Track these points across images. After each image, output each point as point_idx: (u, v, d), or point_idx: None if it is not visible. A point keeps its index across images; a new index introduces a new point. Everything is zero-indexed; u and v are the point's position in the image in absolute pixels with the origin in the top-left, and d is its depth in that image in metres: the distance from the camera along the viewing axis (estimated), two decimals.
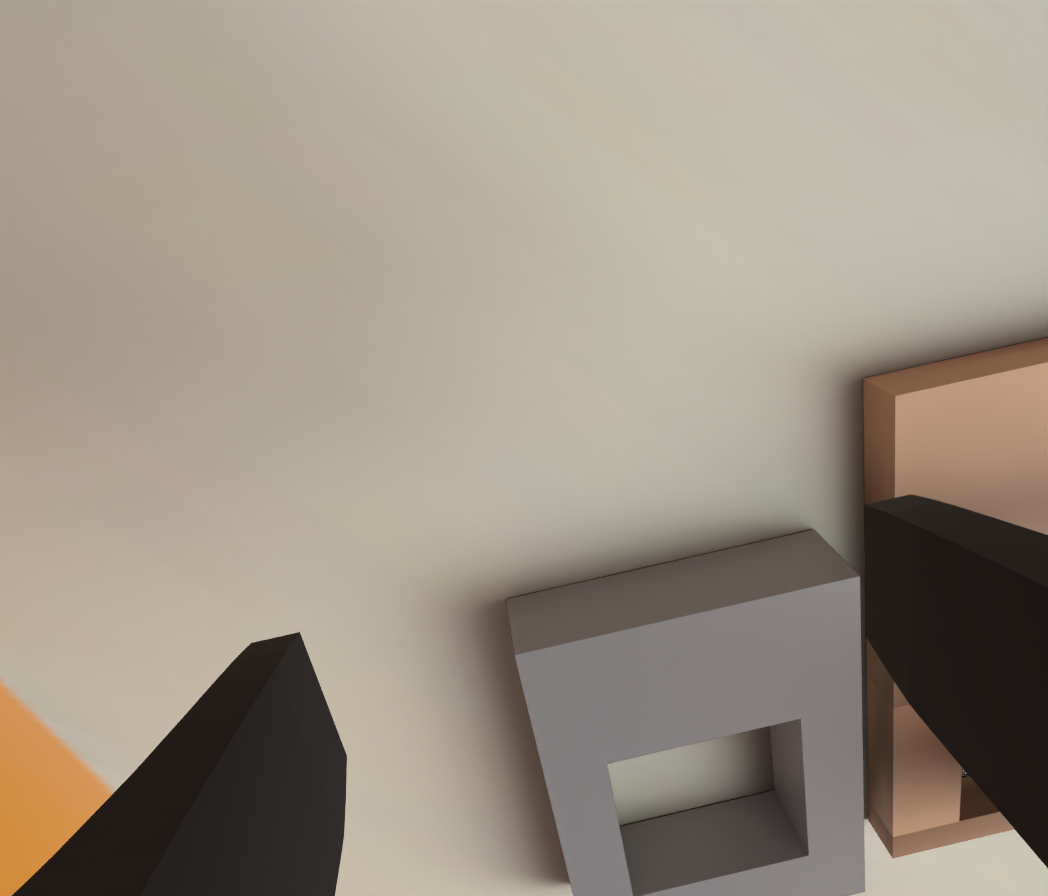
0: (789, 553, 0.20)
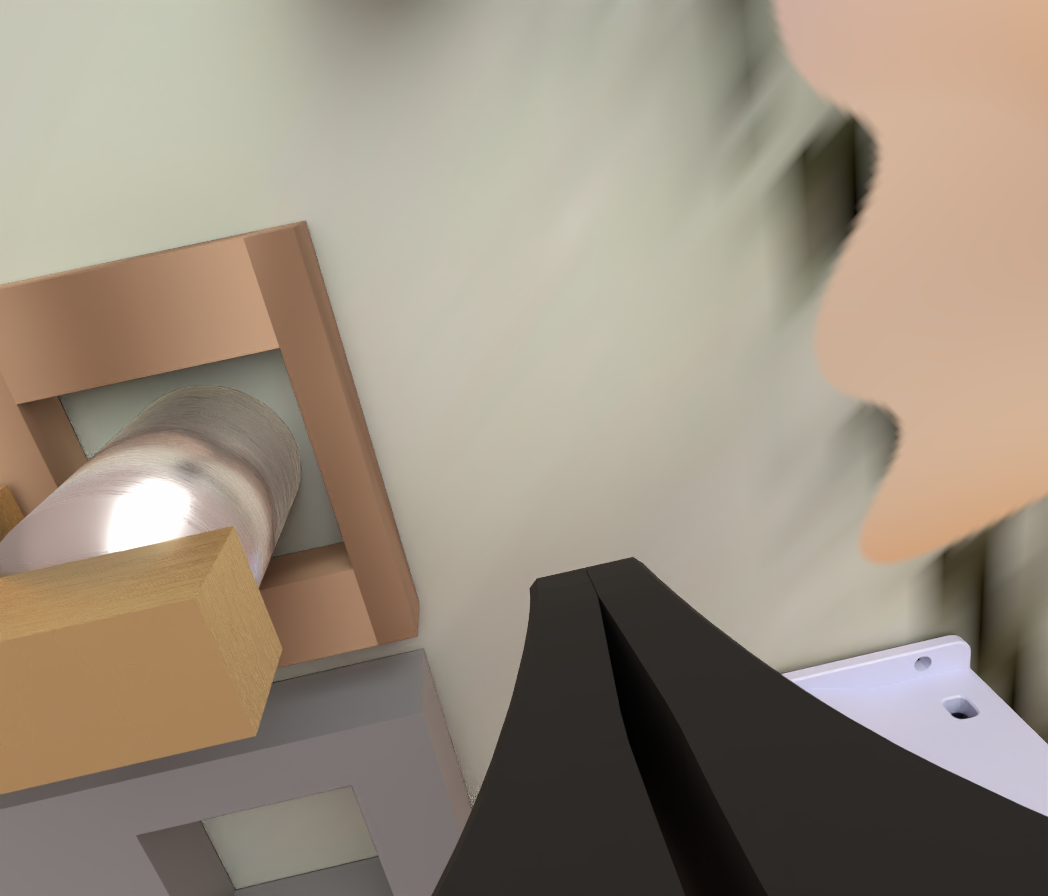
0: None
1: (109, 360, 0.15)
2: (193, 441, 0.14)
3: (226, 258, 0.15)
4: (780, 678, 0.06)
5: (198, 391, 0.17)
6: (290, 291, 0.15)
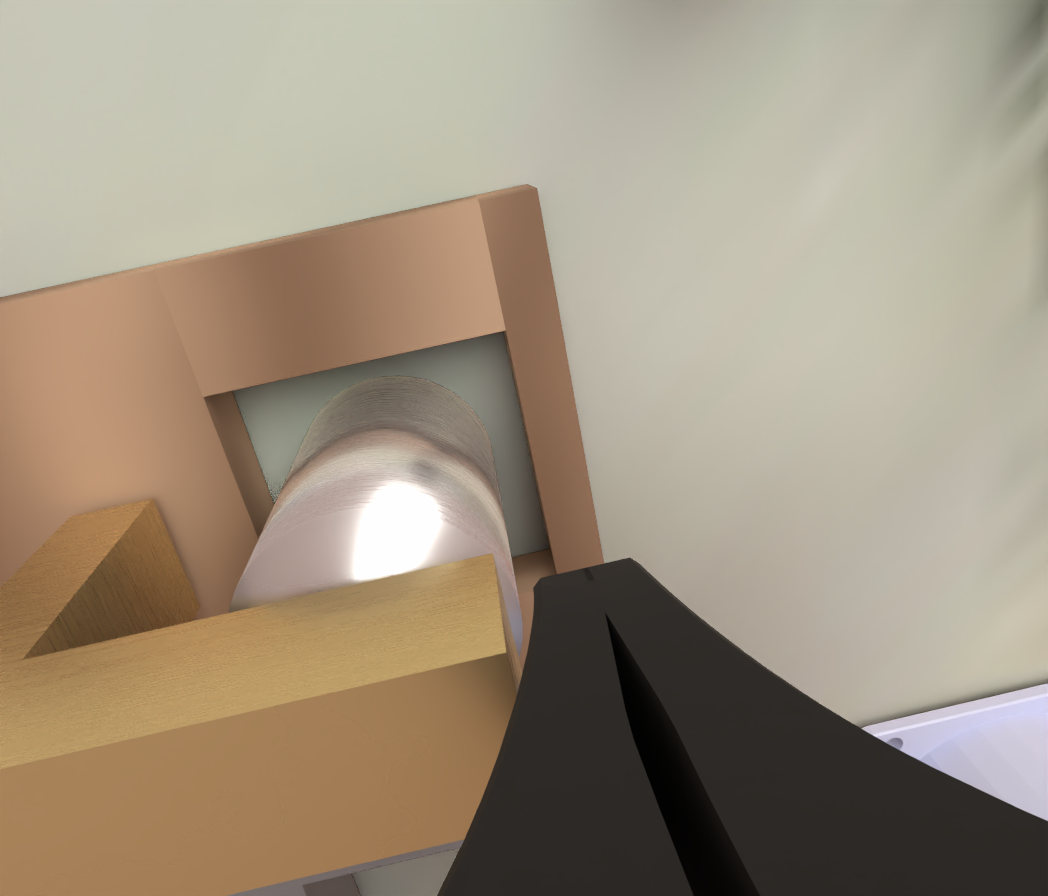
0: None
1: (312, 344, 0.13)
2: (427, 439, 0.12)
3: (457, 225, 0.13)
4: (776, 679, 0.06)
5: (394, 382, 0.15)
6: (525, 264, 0.13)
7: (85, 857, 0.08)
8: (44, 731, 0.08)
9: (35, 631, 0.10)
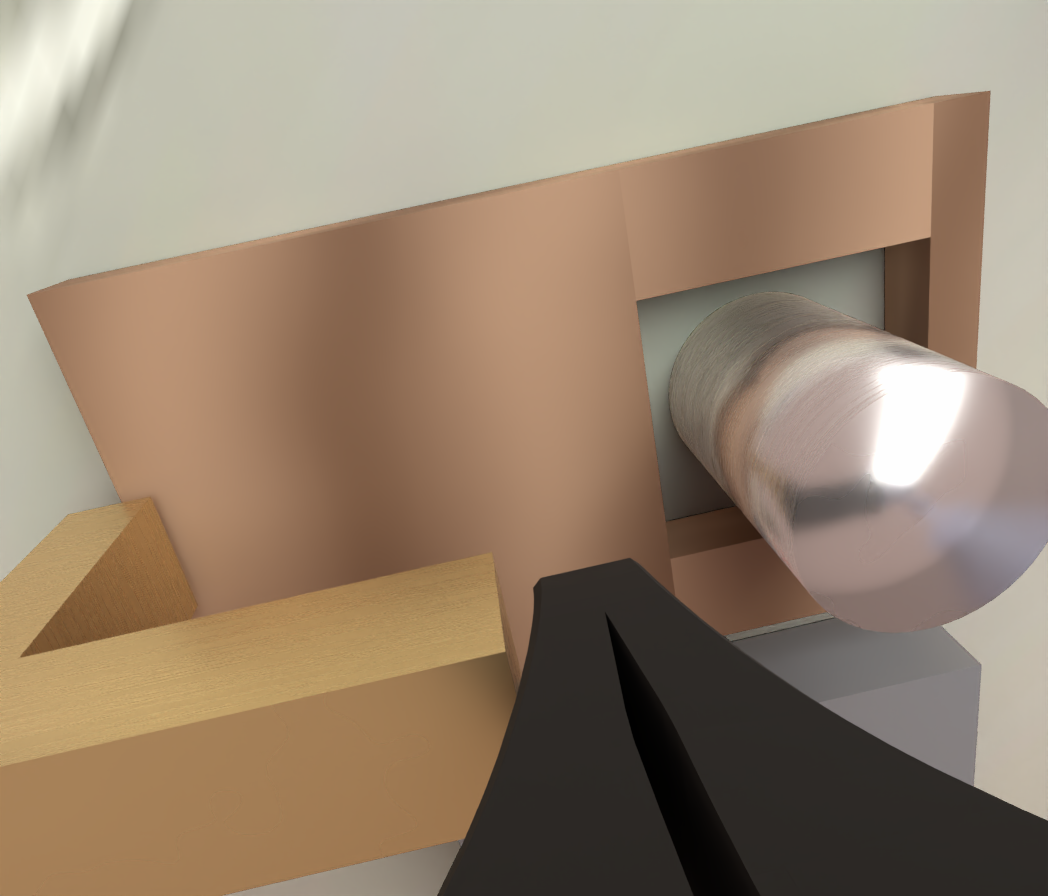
0: None
1: (748, 248, 0.13)
2: None
3: (908, 127, 0.13)
4: (776, 679, 0.06)
5: (784, 296, 0.15)
6: (963, 168, 0.13)
7: (82, 856, 0.08)
8: (41, 729, 0.08)
9: (32, 629, 0.10)
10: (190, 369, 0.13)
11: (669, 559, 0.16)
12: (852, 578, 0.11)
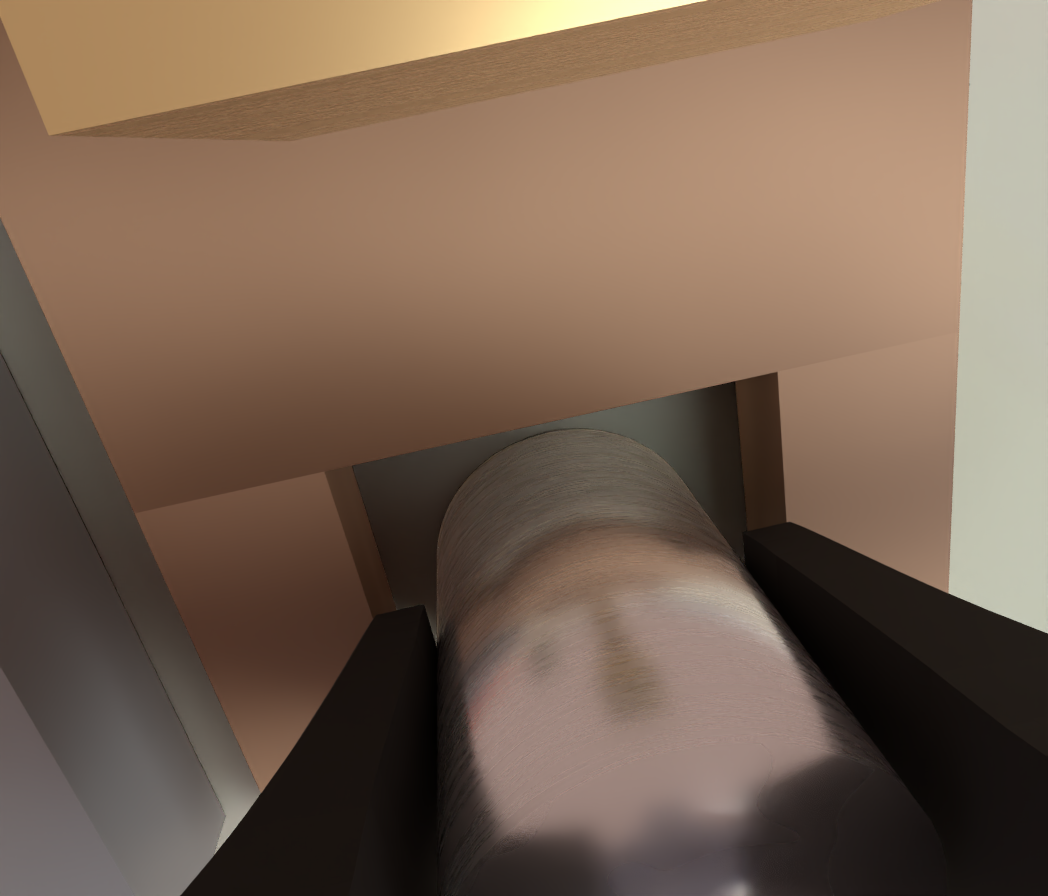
0: None
1: (822, 516, 0.10)
2: None
3: None
4: (1017, 623, 0.06)
5: None
6: None
7: None
8: None
9: None
10: None
11: (318, 469, 0.09)
12: (574, 865, 0.05)
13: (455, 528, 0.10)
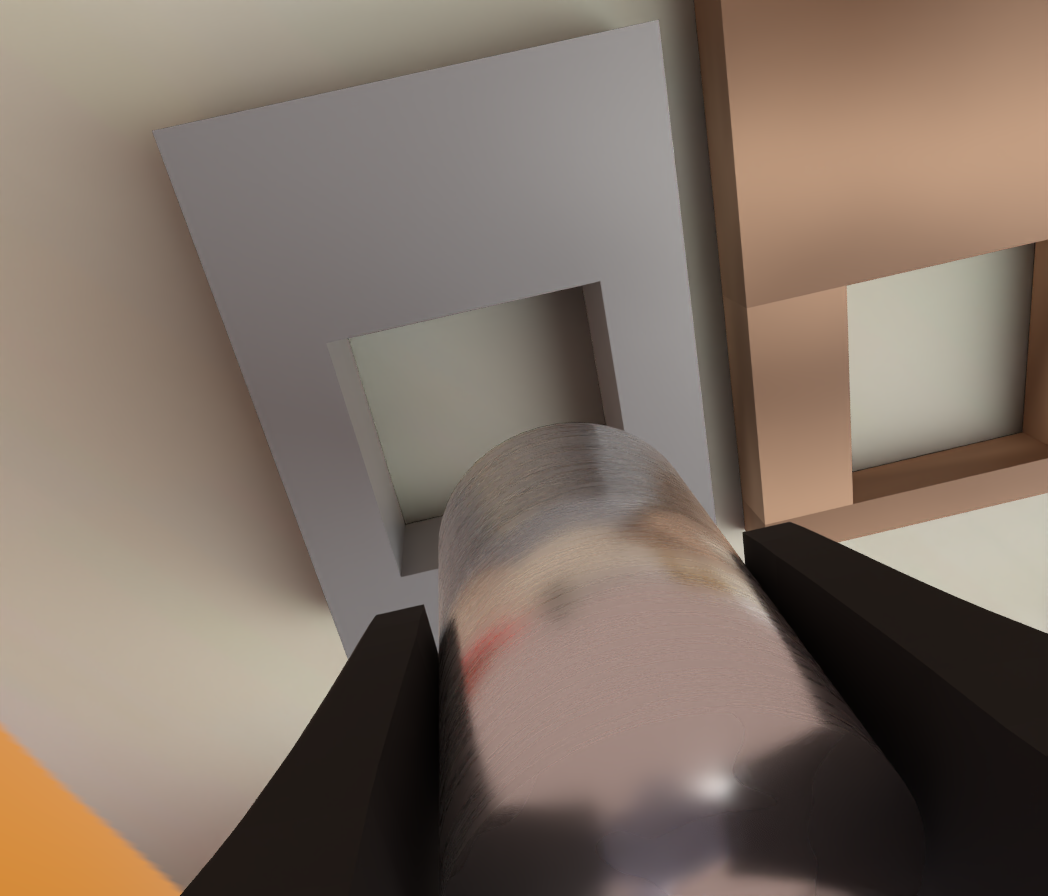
0: None
1: None
2: None
3: None
4: (1017, 623, 0.06)
5: None
6: None
7: None
8: None
9: None
10: None
11: (840, 285, 0.16)
12: (562, 837, 0.06)
13: (452, 525, 0.10)
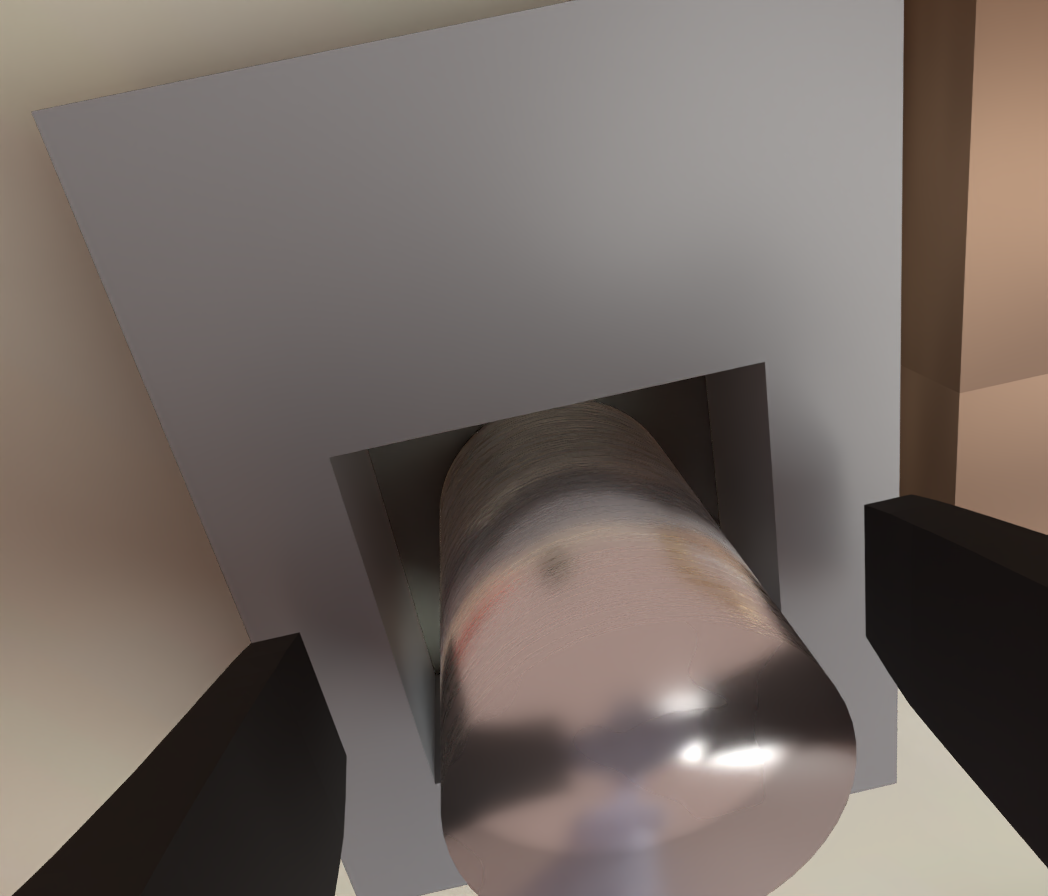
0: None
1: None
2: None
3: None
4: None
5: None
6: None
7: None
8: None
9: None
10: None
11: None
12: (545, 729, 0.07)
13: (452, 489, 0.11)
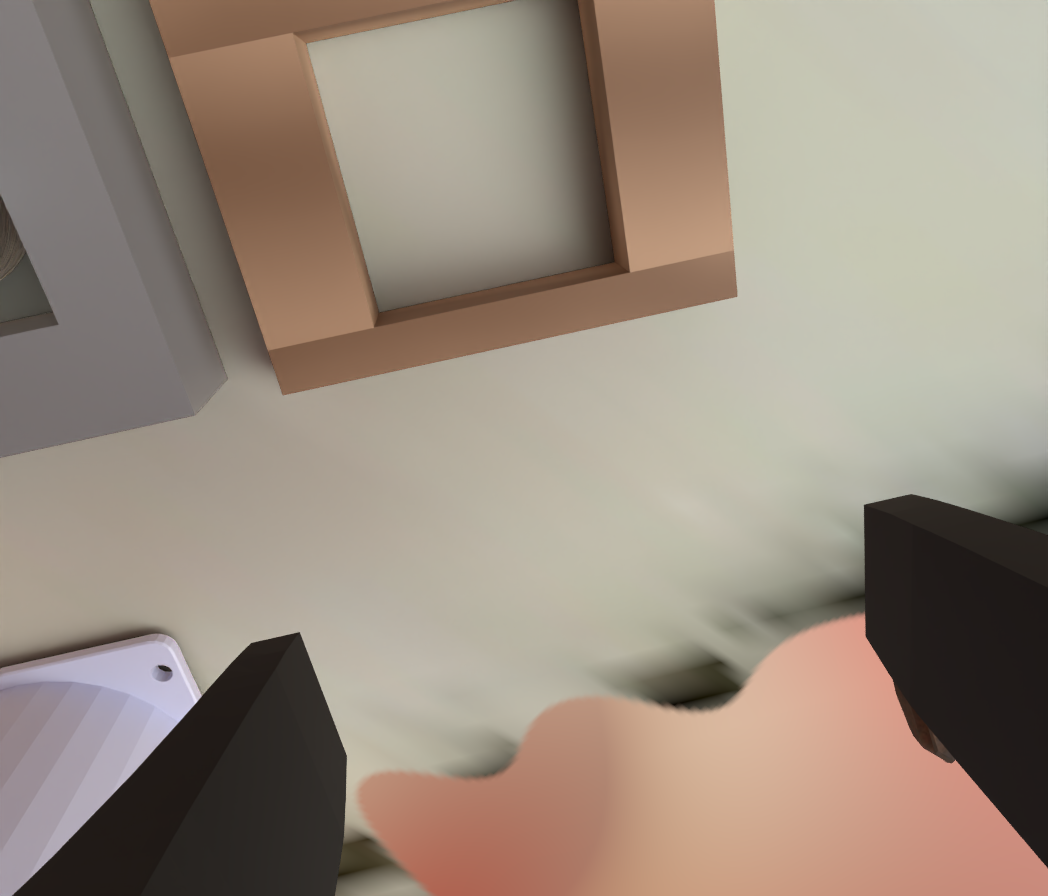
0: None
1: (631, 93, 0.14)
2: None
3: (718, 232, 0.16)
4: None
5: None
6: (682, 288, 0.16)
7: None
8: None
9: None
10: None
11: (289, 34, 0.13)
12: None
13: None
